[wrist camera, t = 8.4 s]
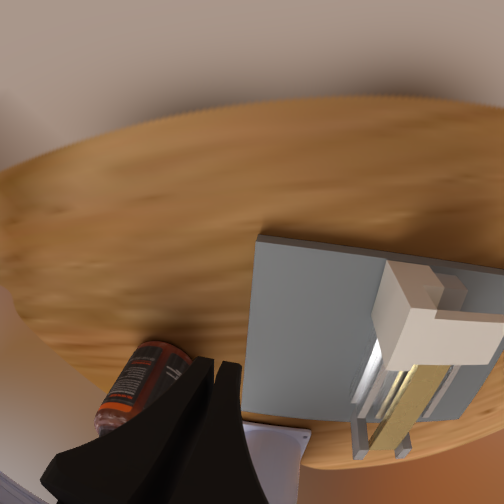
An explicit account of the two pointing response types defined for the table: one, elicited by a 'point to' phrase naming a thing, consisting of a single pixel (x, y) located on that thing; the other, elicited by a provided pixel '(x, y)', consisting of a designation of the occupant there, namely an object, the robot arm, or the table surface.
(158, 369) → the supplement bottle
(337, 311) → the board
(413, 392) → the strap
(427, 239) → the table surface
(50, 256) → the table surface
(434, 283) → the white l-shaped block
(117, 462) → the robot arm
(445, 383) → the heatsink
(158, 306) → the table surface
